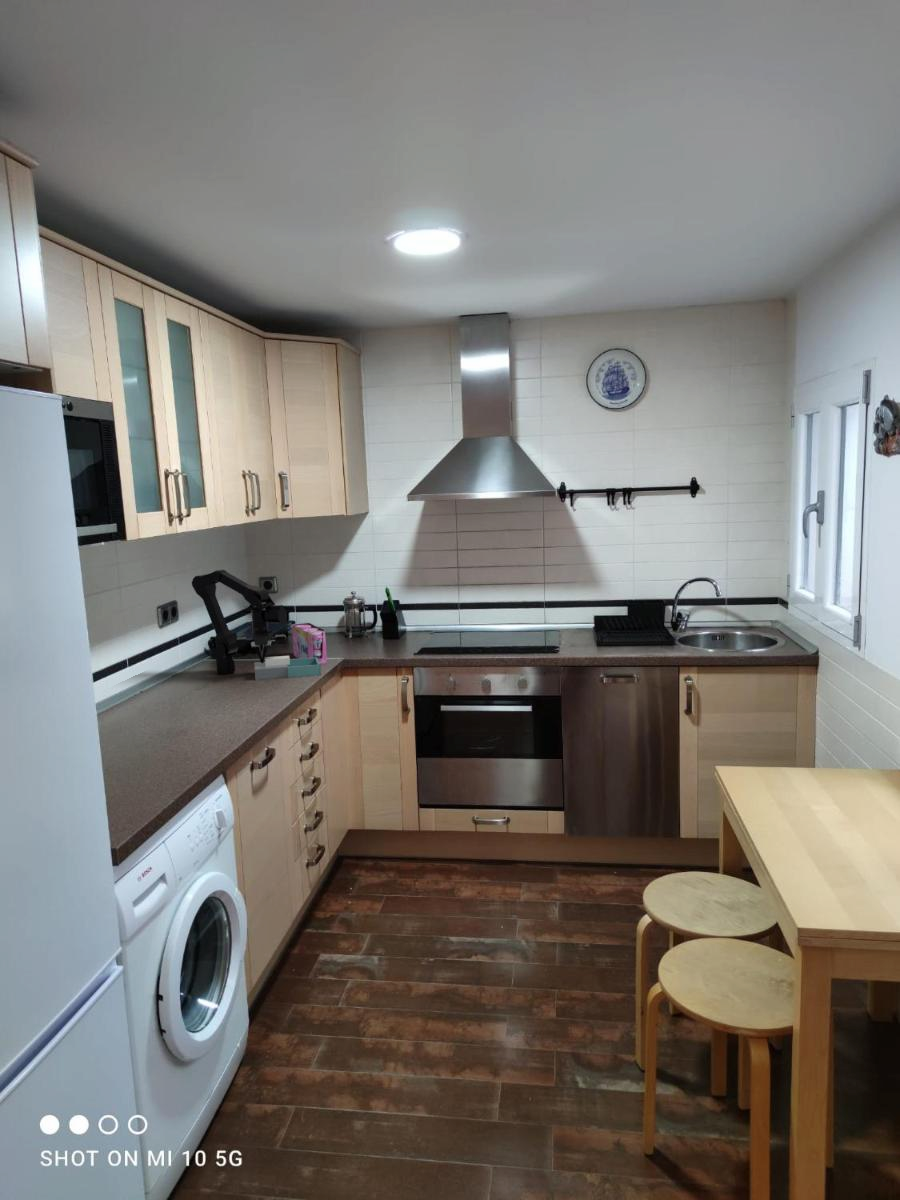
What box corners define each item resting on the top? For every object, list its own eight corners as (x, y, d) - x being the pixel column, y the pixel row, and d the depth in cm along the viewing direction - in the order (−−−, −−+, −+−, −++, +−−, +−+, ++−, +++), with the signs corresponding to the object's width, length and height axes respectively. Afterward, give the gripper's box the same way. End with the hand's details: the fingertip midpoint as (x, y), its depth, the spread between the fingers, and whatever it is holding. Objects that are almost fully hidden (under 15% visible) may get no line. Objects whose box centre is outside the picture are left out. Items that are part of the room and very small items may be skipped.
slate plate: (255, 679, 290) (254, 669, 289) (254, 672, 301) (254, 662, 301) (288, 677, 293) (287, 666, 292) (286, 670, 304) (286, 660, 304)
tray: (288, 677, 292) (287, 667, 291) (286, 669, 305) (285, 659, 305) (320, 675, 295) (320, 664, 294) (317, 667, 308) (317, 657, 308)
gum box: (328, 664, 313) (327, 631, 311) (309, 666, 310) (307, 633, 308) (311, 653, 335) (309, 622, 333) (293, 655, 331) (291, 624, 329)
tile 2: (277, 665, 295) (277, 658, 295) (277, 662, 299) (277, 656, 299) (290, 664, 296) (289, 658, 296) (289, 662, 300) (289, 655, 300)
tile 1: (265, 666, 294) (265, 659, 293) (265, 663, 298) (264, 657, 298) (277, 665, 295) (277, 658, 295) (277, 662, 299) (277, 656, 299)
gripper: (233, 627, 283) (236, 669, 285) (286, 624, 288) (288, 665, 290) (234, 622, 294) (236, 663, 296) (284, 619, 298) (287, 659, 301)
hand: (262, 663), depth 295 cm, fingers closed
